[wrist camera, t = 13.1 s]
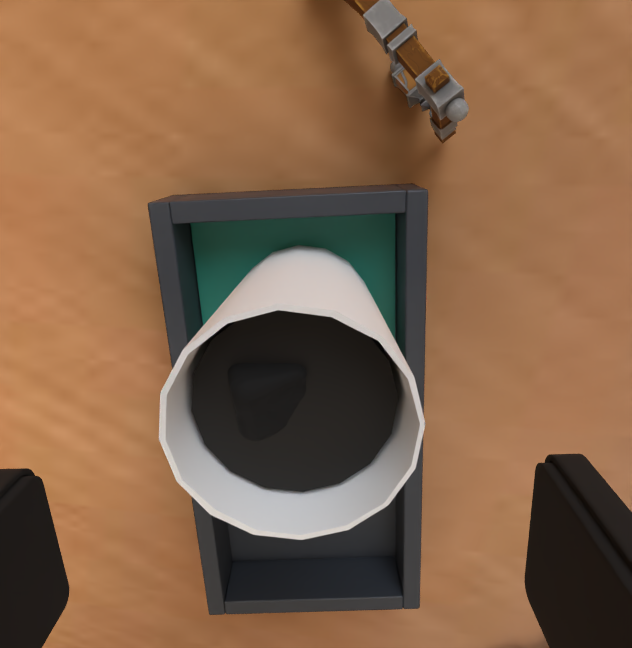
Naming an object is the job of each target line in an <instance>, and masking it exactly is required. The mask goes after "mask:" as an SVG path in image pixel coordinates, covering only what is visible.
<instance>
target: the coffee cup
mask: <svg viewBox="0 0 632 648" xmlns="http://www.w3.org/2000/svg"><path fill="white" fill-rule="evenodd" d="M424 428H425V420H424V416H423V412H422V407H421V403H420V399H419V394H418V390H417V386H416V382H415V377H414V375H413V374H412V372H411V370H410V368H409V366H408V364H407V362H406V360H405V358H404V356H403V355H402V353H401V351H400V349H399V347H398V345H397V343H396V341H395V339H394V337H393V336H392V334H391V332H390V330H389V328H388V326H387V324H386V322H385V320H384V318H383V316H382V315H381V313H380V311H379V309H378V307H377V305H376V303H375V301H374V299H373V297H372V296H371V294H370V292H369V290H368V288H367V286H366V284H365V282H364V281H363V279H362V278H361V277H360V276H359V274H358V273H357V272H356V270H355V269H354V268H353V266H352V265H351V264H350V263H349V262H348V261H347V260H345V259H343V258H341V257H340V256H338V255H336V254H334V253H333V252H331V251H329V250H327V249H325V248H318V247H310V246H302V245H297V246H293V247H290V248H286V249H282V250H279V251H275V252H272V253H271V254H270V255H268V256H267V257H266V258H265V259H263V260H262V261H261V262H259V263H258V264H257V265H256V266H254V267H253V268H252V269H251V270H250V272H249V273H248V274H247V275H246V276H245V277H244V279H243V280H242V281H241V282H240V283H239V284H238V286H237V287H236V288H235V289H234V290H233V291H232V293H231V294H230V295H229V296H228V297H227V298H226V300H225V301H224V302H223V303H222V304H221V306H220V307H219V308H218V309H217V310H216V311H215V313H214V314H213V315H212V316H211V317H210V318H209V320H208V321H207V322H206V323H205V324H204V325H203V327H202V328H201V329H200V330H199V331H198V332H197V334H196V335H195V336H194V337H193V338H192V340H191V341H190V342H189V343H188V344H187V345H186V347H185V348H184V349H183V350H182V352H181V354H180V356H179V358H178V360H177V362H176V364H175V366H174V368H173V370H172V371H171V373H170V375H169V377H168V379H167V381H166V383H165V385H164V387H163V389H162V391H161V392H160V421H159V441H160V443H161V445H162V448H163V450H164V452H165V455H166V457H167V459H168V462H169V464H170V466H171V469H172V471H173V474H174V476H175V478H176V481H177V482H178V483H179V484H180V485H181V486H182V487H183V488H184V489H185V490H186V491H187V492H188V493H189V494H190V495H191V496H192V497H193V498H194V499H195V500H196V501H197V502H198V503H199V504H200V505H201V506H202V507H203V508H204V509H205V510H206V511H207V512H208V513H209V514H210V515H212V516H214V517H216V518H219V519H221V520H223V521H225V522H227V523H229V524H232V525H234V526H236V527H238V528H240V529H242V530H245V531H247V532H249V533H251V534H253V535H261V536H270V537H279V538H288V539H297V540H304V539H309V538H313V537H318V536H323V535H327V534H332V533H337V532H341V531H346V530H349V529H351V528H352V527H354V526H356V525H357V524H359V523H361V522H362V521H364V520H365V519H367V518H369V517H370V516H372V515H373V514H375V513H377V512H378V511H380V510H382V509H383V508H385V507H386V506H388V505H389V504H390V502H391V501H392V500H393V498H394V497H395V496H396V494H397V493H398V492H399V490H400V489H401V488H402V486H403V485H404V483H405V482H406V481H407V479H408V478H409V477H410V475H411V474H412V473H413V471H414V470H415V469H416V464H417V460H418V455H419V451H420V446H421V441H422V437H423V432H424Z"/></svg>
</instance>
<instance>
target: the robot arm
mask: <svg viewBox="0 0 632 648" xmlns="http://www.w3.org/2000/svg"><path fill="white" fill-rule="evenodd" d="M525 588H526V593H527V597H528V600H529V602H530V604H531V607H532V609H533V611H534V614H535V616H536V618H537V620H538V623H539V625H540V627H541V629H542V632H543V634H544V636H545V638H546V641H547V643H548V645H549V647H550V648H632V512H631V511H630V510H629V509H628V507H627V506H626V505H625V504H624V503H623V501H622V500H621V499H620V498H619V497H618V495H617V494H616V493H615V492H614V491H613V489H612V488H611V487H610V486H609V485H608V483H607V482H606V481H605V480H604V479H603V477H602V476H601V475H600V474H599V473H598V472H597V470H596V469H595V468H594V467H593V466H592V464H591V463H590V462H589V461H588V460H587V458H586V457H585V456H583V455H582V454H554V455H548V456H547V457H546V459H545V463H538V464H537V466H536V470H535V479H534V489H533V500H532V510H531V520H530V530H529V540H528V550H527V560H526V570H525ZM68 597H69V584H68V580H67V576H66V572H65V568H64V564H63V560H62V556H61V552H60V548H59V544H58V540H57V536H56V532H55V528H54V524H53V520H52V516H51V512H50V508H49V504H48V500H47V496H46V492H45V488H44V484H43V482H42V479H41V478H40V477H38V476H35V475H34V473H33V472H32V471H31V470H30V469H0V648H42V646H43V645H44V643H45V641H46V639H47V638H48V636H49V634H50V633H51V631H52V629H53V627H54V626H55V624H56V622H57V621H58V619H59V617H60V615H61V614H62V612H63V610H64V608H65V606H66V604H67V601H68Z"/></svg>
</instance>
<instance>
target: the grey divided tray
mask: <svg viewBox="0 0 632 648" xmlns="http://www.w3.org/2000/svg"><path fill="white" fill-rule="evenodd" d="M148 210H149V216H150V223H151V230H152V236H153V243H154V250H155V256H156V263H157V270H158V276H159V283H160V290H161V296H162V303H163V310H164V316H165V323H166V330H167V336H168V343H169V350H170V356H171V363H172V370H173V368H174V366H175V364H176V362H177V360H178V358H179V356H180V354H181V352H182V350H183V349H184V348H185V347H186V345H187V344H188V343H189V342H190V341H191V340H192V338H193V337H194V336H195V335H196V334H197V332H198V331H199V330H200V329H201V328H202V327H203V325H204V324H205V323H206V322H207V321H208V320H209V318H210V317H211V316H212V315H213V314H214V313H215V311H216V310H217V309H218V308H219V307H220V306H221V304H222V303H223V302H224V301H225V300H226V298H227V297H228V296H229V295H230V294H231V293H232V291H233V290H234V289H235V288H236V287H237V286H238V284H239V283H240V282H241V281H242V280H243V279H244V277H245V276H246V275H247V274H248V273H249V272H250V270H251V269H252V268H253V267H254V266H256V265H257V264H258V263H259V262H261V261H262V260H263V259H265V258H266V257H267V256H268V255H270V254H271V253H272V252H275V251H279V250H282V249H286V248H290V247H293V246H297V245H302V246H310V247H318V248H325V249H327V250H329V251H331V252H333V253H334V254H336V255H338V256H340V257H341V258H343V259H345V260H347V261H348V262H349V263H350V264H351V265H352V266H353V268H354V269H355V270H356V272H357V273H358V274H359V276H360V277H361V278H362V279H363V281H364V282H365V284H366V286H367V288H368V290H369V292H370V294H371V296H372V297H373V299H374V301H375V303H376V305H377V307H378V309H379V311H380V313H381V315H382V316H383V318H384V320H385V322H386V324H387V326H388V328H389V330H390V332H391V334H392V336H393V337H394V339H395V341H396V343H397V345H398V347H399V349H400V351H401V353H402V355H403V356H404V358H405V360H406V362H407V364H408V366H409V368H410V370H411V372H412V374H413V375H414V377H415V382H416V386H417V390H418V394H419V399H420V403H421V407H422V412H423V416H424V372H425V324H426V275H427V226H428V190H427V189H425V188H422V187H419V186H417V185H415V184H413V183H411V184H391V185H371V186H351V187H330V188H310V189H290V190H270V191H249V192H229V193H209V194H189V195H172V196H169V197H166V198H162V199H159V200H156V201H153V202H150V203H148ZM422 469H423V437H422V441H421V446H420V451H419V455H418V460H417V464H416V469H415V470H414V471H413V473H412V474H411V475H410V477H409V478H408V479H407V481H406V482H405V483H404V485H403V486H402V488H401V489H400V490H399V492H398V493H397V494H396V496H395V497H394V498H393V500H392V501H391V502H390V504H389V505H388V506H386V507H385V508H383V509H382V510H380V511H378V512H377V513H375V514H373V515H372V516H370V517H369V518H367V519H365V520H364V521H362V522H361V523H359V524H357V525H356V526H354V527H352V528H351V529H349V530H346V531H341V532H337V533H332V534H327V535H323V536H318V537H313V538H309V539H304V540H297V539H288V538H279V537H270V536H261V535H253V534H251V533H249V532H247V531H245V530H242V529H240V528H238V527H236V526H234V525H232V524H229V523H227V522H225V521H223V520H221V519H219V518H216V517H214V516H212V515H210V514H209V513H208V512H207V511H206V510H205V509H204V508H203V507H202V506H201V505H200V504H199V503H198V502H197V501H196V500H195V499H194V498H193V497H192V503H193V510H194V516H195V523H196V530H197V536H198V543H199V550H200V556H201V563H202V570H203V576H204V583H205V590H206V596H207V603H208V610H209V614H210V615H219V614H225V612H226V614H252V613H286V612H320V611H354V610H388V609H402V608H404V609H418V608H419V607H420V567H421V518H422Z"/></svg>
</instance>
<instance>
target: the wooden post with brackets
mask: <svg viewBox="0 0 632 648" xmlns="http://www.w3.org/2000/svg"><path fill="white" fill-rule="evenodd" d="M344 1H346V2H347V3H348V4H349V5H350V6H351V7H352V8H353V9H354V10H355V11H357V12H358V13H359V15H360V16H361V17H362V18H363V19H364V21H365V24H366V27H367V31H368V32H369V33H371V34H372V35H373V36H374V37H375V38H376V40H377V41H378V42H379V43H380V45H381V46H382V47H383V49H384V51H385V53H386V54H387V53H388V52H389V55H390V59H391V61H392V63H391V68H390V69H391V72H392V73H393V74H392V79H393V82H394V86H395V87H398V88H400V89H401V91H402V92H403V93H404V94H405V95H406V97H407V101H408V106H409V108H411V107H412V106H413V105H415V104H418V103H420V106H421V107H422V111H425V110H427V109H430V112H429V115H430V117H431V118H430V122H431V126H432V128H433V130H434V131H435V135H436V136H437V137H438V138H439V139H440V141H441V142H442V143H444V142H445V141H446V140H447V139H449V138H450V137H451V136H453V135H454V134H455V133H456V132H455V130H456V128H455V127H456V126H457V122H459V121H461V120H463V119H464V118H465V117H466V116H467V113H468V109H469V107H468V104H467V103H466V101H465V100H464V88H463V87H462V86H461V85H459V84H458V83H457V82H456V81H455V79H454V78H453V77H452V76H451V75H450V73H449V72H448V71H447V70H446V69H445V67H444V66H443V64H442V62H441V61H440V59H439V60H437V61H436V62H434V61H433V59H432V58H431V57H430V55H429V54H428V53H427V52H426V50H425V49H424V48H423V47H422V45H421V44H420V43H419V42H418V38H417V31H416V30H415V29H414V28H413V26H412V24H411V25H410V26H408V23H407V18H406V17H404V16H403V15H402V14H400V13H399V12H398V10H397V9H396V8H395V7H394V6H393V5H392V3H391V2H390V1H389V0H344Z"/></svg>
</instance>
